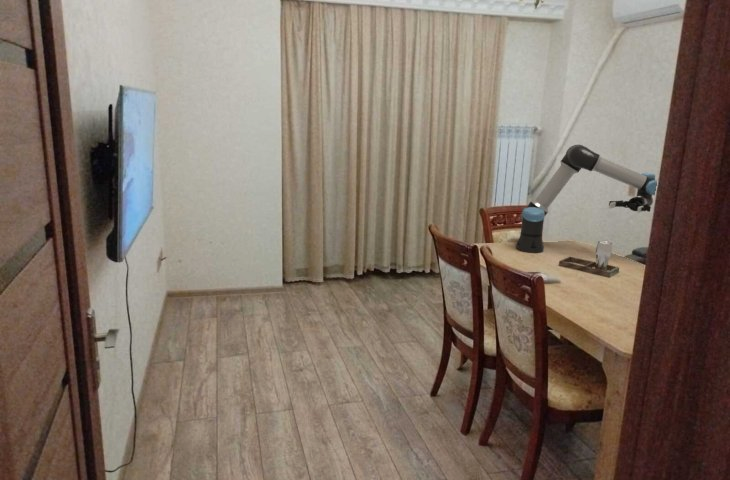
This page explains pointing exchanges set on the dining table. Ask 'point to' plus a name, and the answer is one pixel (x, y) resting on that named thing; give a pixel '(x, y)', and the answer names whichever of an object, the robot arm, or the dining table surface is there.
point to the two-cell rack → (588, 266)
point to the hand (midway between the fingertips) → (624, 207)
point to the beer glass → (603, 254)
